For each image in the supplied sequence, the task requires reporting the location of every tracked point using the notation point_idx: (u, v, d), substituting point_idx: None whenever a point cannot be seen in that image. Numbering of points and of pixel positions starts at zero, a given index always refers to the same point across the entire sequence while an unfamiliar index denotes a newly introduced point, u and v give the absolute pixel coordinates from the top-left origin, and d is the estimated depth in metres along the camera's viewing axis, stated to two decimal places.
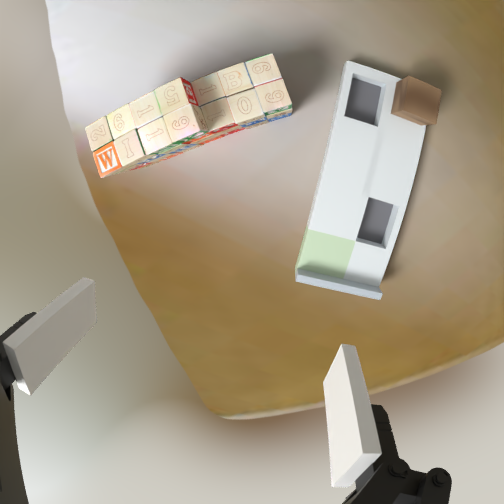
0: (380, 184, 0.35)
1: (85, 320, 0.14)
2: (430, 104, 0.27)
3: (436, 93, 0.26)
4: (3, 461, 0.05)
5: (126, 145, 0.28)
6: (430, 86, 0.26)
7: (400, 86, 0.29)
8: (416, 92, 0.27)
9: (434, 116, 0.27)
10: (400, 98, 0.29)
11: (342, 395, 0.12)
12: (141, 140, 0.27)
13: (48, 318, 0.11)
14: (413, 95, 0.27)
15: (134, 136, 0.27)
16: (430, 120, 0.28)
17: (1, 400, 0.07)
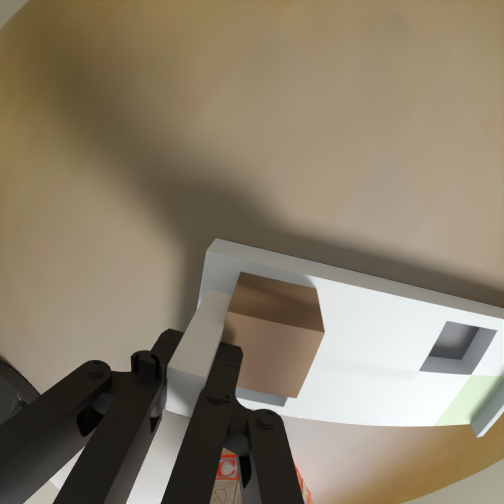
0: (404, 356, 0.18)
1: None
2: (275, 344, 0.14)
3: (240, 327, 0.13)
4: (111, 498, 0.05)
5: None
6: (225, 339, 0.14)
7: None
8: (249, 373, 0.14)
9: (305, 336, 0.13)
10: None
11: None
12: None
13: (201, 334, 0.13)
14: (259, 378, 0.14)
15: None
16: (316, 346, 0.13)
17: (142, 436, 0.08)
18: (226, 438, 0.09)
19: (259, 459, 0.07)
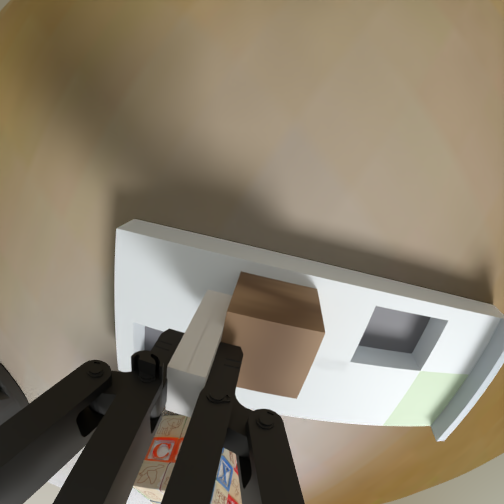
0: (328, 344, 0.18)
1: None
2: (276, 345, 0.14)
3: (240, 327, 0.13)
4: (111, 498, 0.05)
5: None
6: (225, 339, 0.14)
7: None
8: (249, 373, 0.14)
9: (305, 336, 0.13)
10: None
11: None
12: None
13: (201, 334, 0.13)
14: (259, 379, 0.14)
15: None
16: (316, 346, 0.13)
17: (142, 436, 0.08)
18: (226, 438, 0.09)
19: (259, 459, 0.07)
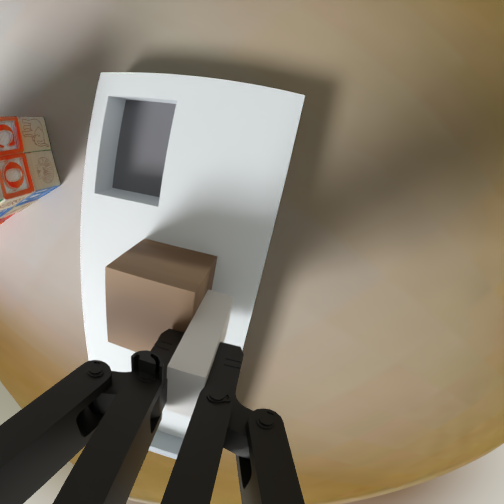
0: None
1: None
2: None
3: (179, 303, 0.13)
4: (111, 498, 0.05)
5: None
6: (160, 287, 0.13)
7: None
8: (126, 305, 0.14)
9: None
10: None
11: None
12: None
13: (201, 334, 0.13)
14: (121, 312, 0.14)
15: None
16: None
17: (142, 436, 0.08)
18: (226, 438, 0.09)
19: (259, 459, 0.07)
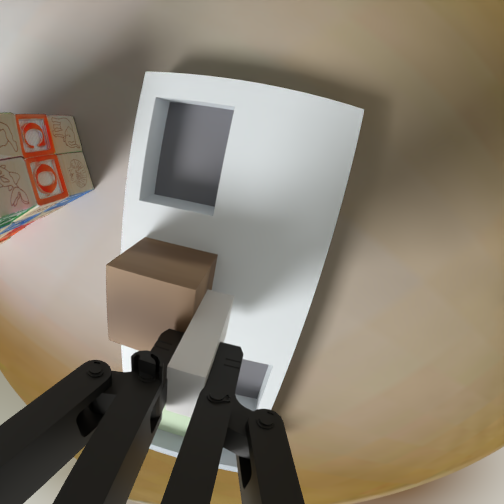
0: (228, 331, 0.19)
1: None
2: (165, 329, 0.14)
3: (179, 301, 0.13)
4: (111, 498, 0.05)
5: None
6: (161, 285, 0.13)
7: None
8: (127, 303, 0.14)
9: None
10: None
11: None
12: None
13: (201, 334, 0.13)
14: (122, 311, 0.14)
15: None
16: None
17: (142, 436, 0.08)
18: (226, 438, 0.09)
19: (259, 459, 0.07)
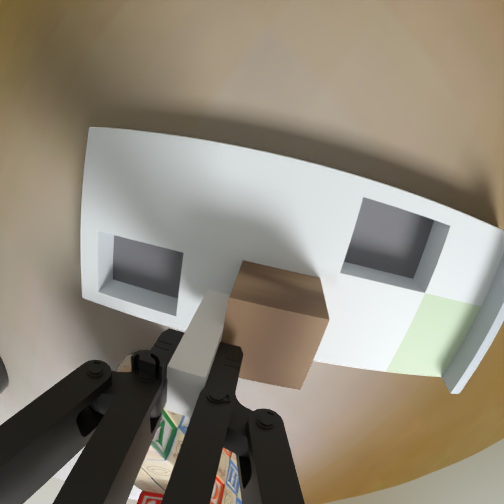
0: (312, 246, 0.17)
1: None
2: (279, 332, 0.13)
3: (243, 313, 0.13)
4: (111, 498, 0.05)
5: None
6: (227, 327, 0.14)
7: None
8: (252, 362, 0.14)
9: (309, 324, 0.13)
10: None
11: None
12: None
13: (201, 334, 0.13)
14: (262, 368, 0.14)
15: None
16: (321, 334, 0.13)
17: (142, 436, 0.08)
18: (226, 438, 0.09)
19: (259, 459, 0.07)
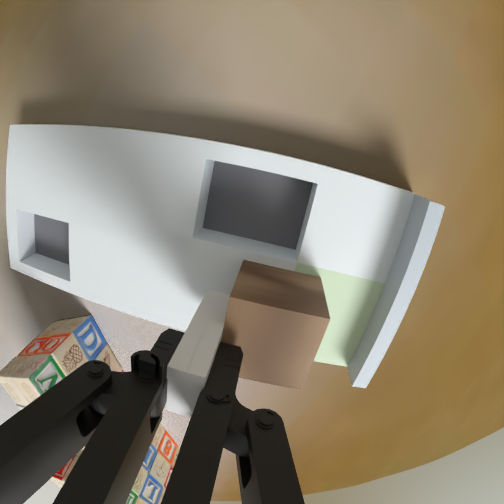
0: (163, 211, 0.17)
1: None
2: (279, 332, 0.13)
3: (243, 313, 0.13)
4: (111, 498, 0.05)
5: None
6: (228, 327, 0.14)
7: None
8: (253, 362, 0.14)
9: (310, 323, 0.13)
10: None
11: None
12: None
13: (201, 334, 0.13)
14: (262, 368, 0.14)
15: None
16: (321, 333, 0.13)
17: (142, 436, 0.08)
18: (226, 438, 0.09)
19: (259, 459, 0.07)
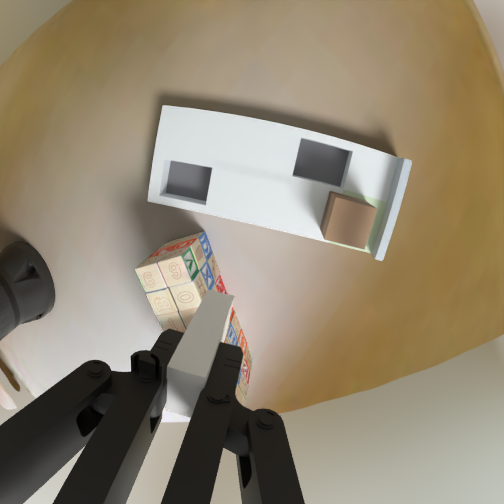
0: (277, 162, 0.33)
1: None
2: (356, 214, 0.29)
3: (341, 205, 0.29)
4: (111, 498, 0.05)
5: None
6: (333, 212, 0.29)
7: None
8: (343, 232, 0.30)
9: (368, 210, 0.29)
10: None
11: None
12: None
13: (201, 334, 0.13)
14: (347, 236, 0.30)
15: None
16: (373, 216, 0.29)
17: (142, 436, 0.08)
18: (226, 438, 0.09)
19: (259, 459, 0.07)
